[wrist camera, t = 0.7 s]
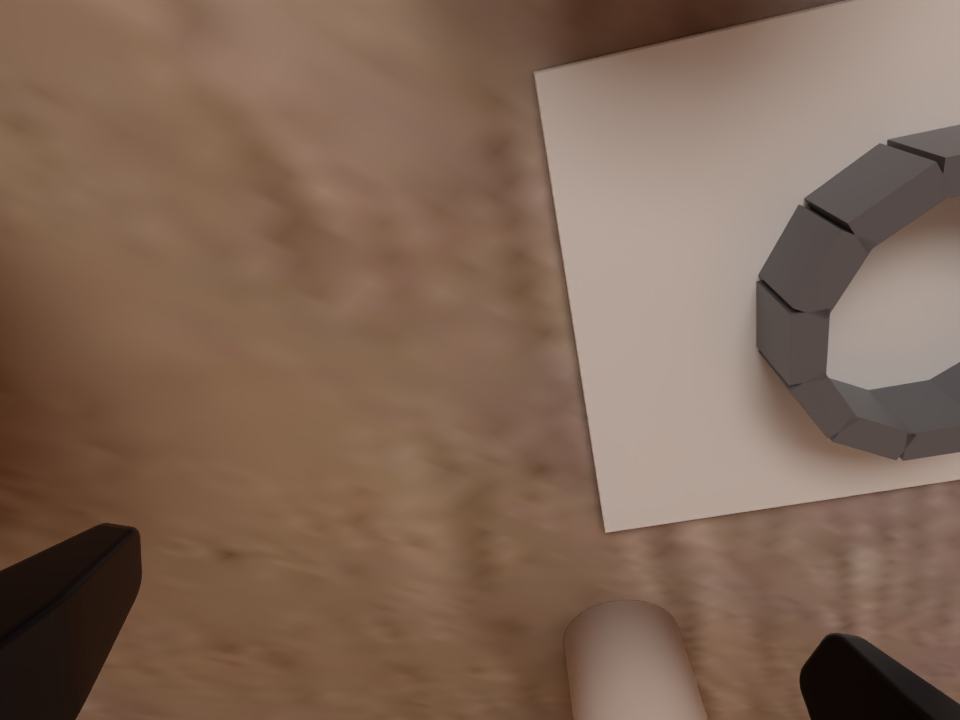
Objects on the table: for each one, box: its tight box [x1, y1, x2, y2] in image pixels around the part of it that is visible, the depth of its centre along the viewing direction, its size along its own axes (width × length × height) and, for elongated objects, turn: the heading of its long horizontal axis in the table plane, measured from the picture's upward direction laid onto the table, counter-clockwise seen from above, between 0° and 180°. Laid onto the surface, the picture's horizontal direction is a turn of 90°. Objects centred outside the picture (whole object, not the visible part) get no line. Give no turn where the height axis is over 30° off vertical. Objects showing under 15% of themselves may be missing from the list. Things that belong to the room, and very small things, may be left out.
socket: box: [533, 0, 960, 533], centre depth 18 cm, size 20×16×3 cm
